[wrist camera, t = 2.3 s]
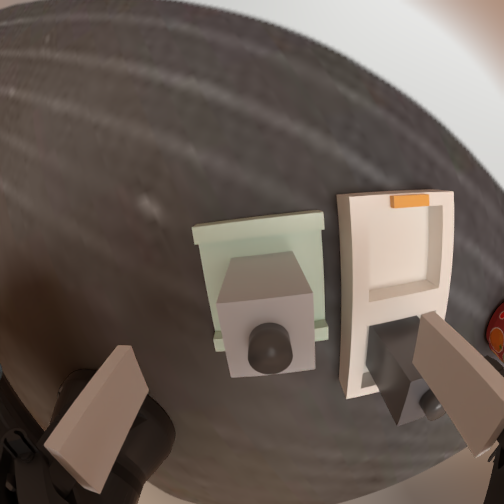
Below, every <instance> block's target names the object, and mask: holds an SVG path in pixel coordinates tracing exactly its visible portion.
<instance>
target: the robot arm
mask: <svg viewBox="0 0 504 504" xmlns="http://www.w3.org/2000/svg"><path fill="white" fill-rule="evenodd" d="M412 363H413V365H414V366H415V368H416V369H417V370H418V372H419V373H420V375H421V376H422V377H423V379H424V380H425V382H426V383H427V384H428V386H429V387H430V389H431V390H432V392H433V393H434V395H435V396H436V398H437V399H438V401H439V402H440V404H441V405H442V407H443V408H444V410H445V411H446V413H447V414H448V416H449V417H450V419H451V420H452V422H453V423H454V425H455V427H456V428H457V430H458V431H459V433H460V435H461V436H462V438H463V439H464V441H465V443H466V444H467V446H468V448H469V449H470V451H471V453H472V454H473V456H474V458H477V457H478V456H480V455H482V454H483V453H485V452H486V451H488V450H489V449H490V448H491V447H492V445H493V444H494V443H495V441H496V440H497V441H498V442H499V445H498V447H497V448H496V449H495V451H494V452H493V453H492V454H491V456H490V457H489V459H488V462H490V461H491V460H492V458H493V457H494V456H495V459H494V461H493V462H494V465H493V470H492V474H491V478H490V483H489V486H488V490H487V494H486V497H485V500H484V504H504V367H503V366H502V365H501V364H500V363H499V362H498V361H497V360H495V359H493V358H491V357H489V356H485V357H483V356H482V355H481V354H480V353H479V352H478V351H477V350H476V349H475V348H474V347H473V346H471V345H470V344H469V343H468V342H467V341H466V340H465V339H464V338H463V337H462V336H461V335H460V334H459V333H458V332H456V331H455V330H454V329H453V328H452V327H451V326H450V325H449V324H448V323H446V322H445V321H444V320H443V319H442V318H441V317H440V316H439V315H437V314H436V313H435V312H434V311H433V312H429V313H425V314H421V317H420V324H419V330H418V336H417V341H416V346H415V351H414V356H413V361H412ZM148 391H149V389H148V387H147V384H146V382H145V380H144V377H143V375H142V372H141V370H140V367H139V365H138V362H137V360H136V357H135V354H134V352H133V349H132V346H129V345H117V347H116V348H115V349H114V350H113V352H112V353H111V354H110V356H109V357H108V358H107V359H106V361H105V362H104V363H103V364H102V366H101V367H100V368H99V370H98V371H97V370H90V369H83V370H77V371H75V372H73V373H71V374H70V375H69V376H68V378H67V379H66V380H65V381H64V382H63V384H62V385H61V386H60V388H59V391H58V395H57V403H56V405H55V408H54V412H53V415H52V418H51V422H50V426H49V427H48V428H47V430H46V431H44V430H43V429H42V428H41V427H40V425H39V424H38V423H37V422H36V420H35V419H34V418H33V416H32V415H31V414H30V412H29V411H28V410H27V408H26V407H25V405H24V404H23V403H22V401H21V400H20V398H19V397H18V395H17V394H16V392H15V391H14V389H13V388H12V386H11V385H10V383H9V381H8V380H7V378H6V376H5V375H4V373H3V371H2V366H1V364H0V504H138V501H139V497H140V494H141V491H142V488H143V485H144V484H145V482H146V481H147V480H148V479H149V478H150V477H151V475H152V474H153V473H154V472H155V471H156V470H157V469H158V467H159V466H160V465H161V464H162V462H163V461H164V460H165V459H166V458H167V457H168V456H169V454H170V452H171V449H172V446H173V443H174V439H175V430H174V427H173V424H172V422H171V420H170V419H169V417H168V416H167V414H166V413H165V412H164V411H163V410H162V408H161V407H160V406H159V405H158V404H157V403H156V402H154V401H153V400H152V399H151V398H150V397H149V396H147V393H148Z"/></svg>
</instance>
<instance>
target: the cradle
mask: <svg viewBox="0 0 504 504" xmlns="http://www.w3.org/2000/svg"><path fill="white" fill-rule="evenodd" d="M324 229H325V228H324V215H323V212H322V211H320V210H311V211H301V212H291V213H282V214H273V215H265V216H256V217H248V218H240V219H232V220H224V221H216V222H209V223H202V224H196V225H195V226H193V227H192V232H193V238H194V244H195V245H196V244H199V249H200V255H201V261H202V267H203V272H204V278H205V283H206V288H207V294H208V299H209V304H210V309H211V314H212V319H213V324H214V328H215V334H214V338H213V341H214V345H215V350H216V352H218V351H225V347H224V342H223V337H222V333H221V328H220V323H219V317H218V312H217V307H216V302H217V299H218V296H219V293H220V290H221V287H222V284H223V281H224V278H225V275H226V272H227V269H228V266H229V263H230V260H231V258H235V257H243V256H252V255H261V254H269V253H278V252H287V251H293V253H294V255H295V257H296V259H297V261H298V263H299V265H300V267H301V269H302V271H303V273H304V275H305V277H306V279H307V281H308V283H309V286H310V288H311V290H312V292H313V302H314V329H315V341H322V340H328V325H327V323H326V321H325V296H324V271H323V252H322V237H321V230H324Z"/></svg>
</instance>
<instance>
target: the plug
mask: <svg viewBox="0 0 504 504" xmlns="http://www.w3.org/2000/svg"><path fill="white" fill-rule="evenodd" d="M216 307H217V312H218V317H219V323H220V328H221V333H222V337H223V342H224V347H225V352H226V357H227V361H228V366H229V370H230V375H231V378H235V377H250V376H262V375H272V374H281V373H290V372H297V371H305V370H312V369H315V329H314V302H313V292H312V290H311V288H310V286H309V283H308V281H307V279H306V277H305V275H304V273H303V271H302V269H301V267H300V265H299V263H298V261H297V259H296V257H295V255H294V253H293V251H287V252H278V253H269V254H261V255H252V256H243V257H235V258H231V260H230V263H229V266H228V269H227V272H226V275H225V278H224V281H223V284H222V287H221V290H220V293H219V296H218V299H217V302H216Z"/></svg>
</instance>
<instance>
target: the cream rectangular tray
mask: <svg viewBox="0 0 504 504" xmlns="http://www.w3.org/2000/svg"><path fill="white" fill-rule="evenodd" d="M336 196H337V208H338V221H339V238H340V260H341V345H340V367H339V381H340V384H341V386H342V389H343V392H344V394H345V397H346V399H349V398H354V397H359V396H363V395H367V394H371V393H375V392H379V391H380V393H381V395H382V397H383V399H384V401H385V403H386V405H387V407H388V409H389V411H390V413H391V415H392V417H393V419H394V421H395V423H396V425H397V426H400V425H403V424H406V423H409V422H411V421H414V420H417V419H420V418H422V417H425V416H426V417H427V418H428V420H430V421H433V420H436V419H438V418H440V417H442V416H443V415H444V414H445V413H446V411H445V410H444V408H443V407H442V405H441V404H440V402H439V401H438V399H437V398H436V396H435V395H434V393H433V392H432V390H431V389H430V387H429V386H428V384H427V383H426V382H425V380H424V379H423V377H422V376H421V375H420V373H419V372H418V370H417V369H416V368H415V366H414V365H413V363H412V361H413V356H414V351H415V346H416V341H417V336H418V330H419V324H420V317H421V314H425V313H429V312H433V311H434V312H435V313H436V314H437V315H439V316H440V317H441V318H442V319H443V320H445V314H446V308H447V302H448V295H449V288H450V279H451V270H452V258H453V241H454V192H453V191H445V190H435V189H424V190H399V191H381V192H364V193H350V194H337V195H336Z"/></svg>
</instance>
